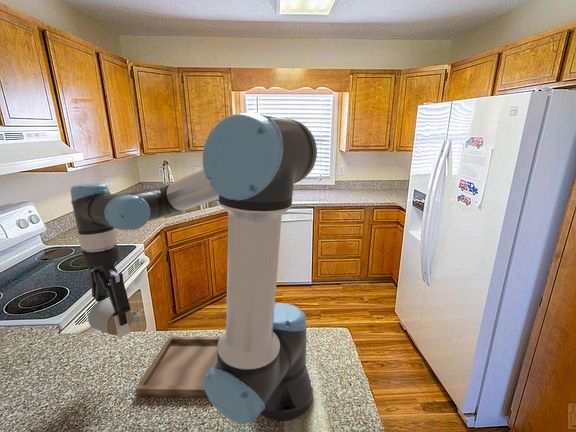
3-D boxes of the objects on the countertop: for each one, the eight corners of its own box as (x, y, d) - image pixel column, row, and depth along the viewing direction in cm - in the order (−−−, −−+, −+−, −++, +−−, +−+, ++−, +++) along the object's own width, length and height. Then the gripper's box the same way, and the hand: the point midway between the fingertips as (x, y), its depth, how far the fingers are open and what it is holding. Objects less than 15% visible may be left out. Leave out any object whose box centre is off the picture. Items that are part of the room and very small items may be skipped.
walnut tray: (233, 343, 91) (233, 336, 91) (217, 398, 72) (216, 389, 71) (170, 343, 92) (169, 336, 91) (136, 397, 72) (135, 388, 72)
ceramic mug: (110, 342, 72) (106, 314, 70) (90, 334, 75) (85, 307, 74) (147, 320, 81) (144, 294, 79) (127, 313, 85) (124, 289, 83)
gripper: (137, 250, 68) (150, 335, 74) (98, 236, 81) (112, 309, 86) (102, 261, 63) (119, 352, 68) (66, 243, 75) (82, 322, 80)
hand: (115, 328), depth 77 cm, fingers closed on ceramic mug, 9 cm apart
